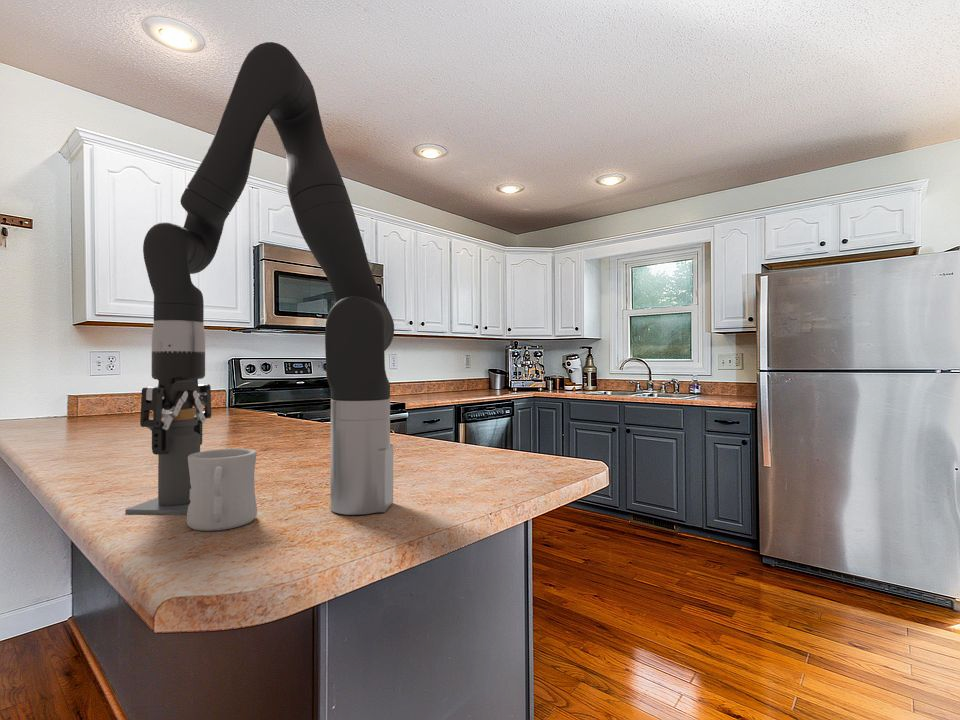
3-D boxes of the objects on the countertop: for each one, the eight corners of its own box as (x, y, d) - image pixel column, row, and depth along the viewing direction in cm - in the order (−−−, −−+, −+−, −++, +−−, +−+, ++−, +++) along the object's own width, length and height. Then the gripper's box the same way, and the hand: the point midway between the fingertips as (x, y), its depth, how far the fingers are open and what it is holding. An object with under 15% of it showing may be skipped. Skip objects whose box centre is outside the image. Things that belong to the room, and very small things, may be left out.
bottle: (181, 506, 79) (181, 410, 79) (148, 504, 80) (149, 409, 80) (208, 497, 85) (208, 407, 85) (177, 495, 86) (178, 406, 86)
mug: (191, 517, 76) (191, 450, 76) (258, 510, 79) (258, 446, 79) (176, 544, 64) (176, 465, 64) (255, 535, 68) (255, 460, 68)
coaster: (225, 497, 87) (225, 493, 87) (188, 514, 77) (188, 510, 77) (168, 496, 88) (168, 493, 88) (125, 513, 78) (125, 509, 78)
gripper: (172, 348, 75) (172, 457, 75) (225, 351, 90) (225, 443, 89) (123, 348, 76) (123, 457, 76) (184, 351, 90) (184, 443, 90)
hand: (178, 449), depth 83 cm, fingers open, 8 cm apart
